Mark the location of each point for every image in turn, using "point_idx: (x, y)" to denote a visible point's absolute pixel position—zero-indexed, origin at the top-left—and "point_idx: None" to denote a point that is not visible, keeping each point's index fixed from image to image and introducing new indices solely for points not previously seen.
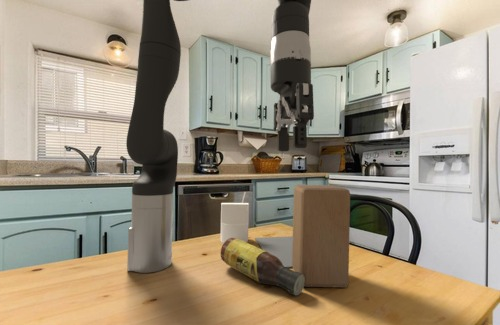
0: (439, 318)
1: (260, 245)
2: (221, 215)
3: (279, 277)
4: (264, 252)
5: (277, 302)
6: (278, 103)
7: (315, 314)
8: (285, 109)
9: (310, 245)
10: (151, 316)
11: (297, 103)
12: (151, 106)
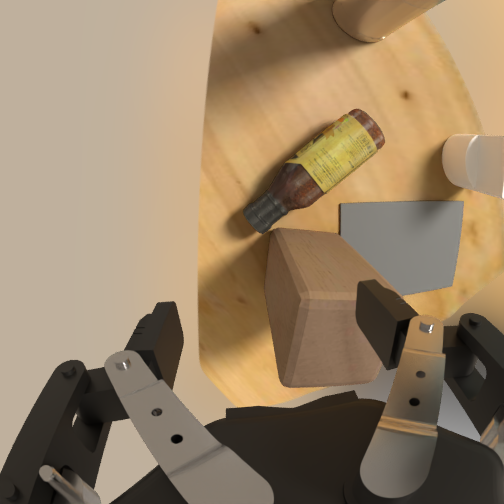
0: (201, 345)
1: (431, 202)
2: (489, 135)
3: (265, 195)
4: (313, 181)
5: (238, 184)
6: (402, 467)
7: (209, 225)
8: (292, 447)
9: (276, 261)
10: (219, 37)
11: (47, 416)
12: None
